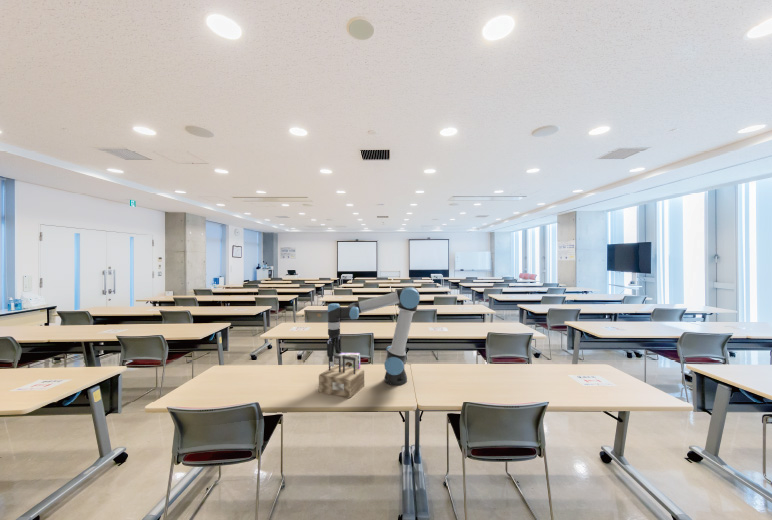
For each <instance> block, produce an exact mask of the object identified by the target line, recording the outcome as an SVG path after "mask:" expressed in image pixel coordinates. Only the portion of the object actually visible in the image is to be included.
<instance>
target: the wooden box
mask: <svg viewBox="0 0 772 520" xmlns="http://www.w3.org/2000/svg"><path fill="white" fill-rule="evenodd" d="M364 387H365V370H364V371H363V372H362V373H360V374H359V375H357V376H356V377H355V378H353V379H352V380H351V381H345V380H340V379H334V378H329V377H323V376H319V375H318V392H319V393H322V394H323V393H324V394H327V395H332V396H338V397H342V398H348V399H351V398H352V397H353V396H355V395H356V394H357V393H358V392H359V391H361V390H362V389H364Z"/></svg>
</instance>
